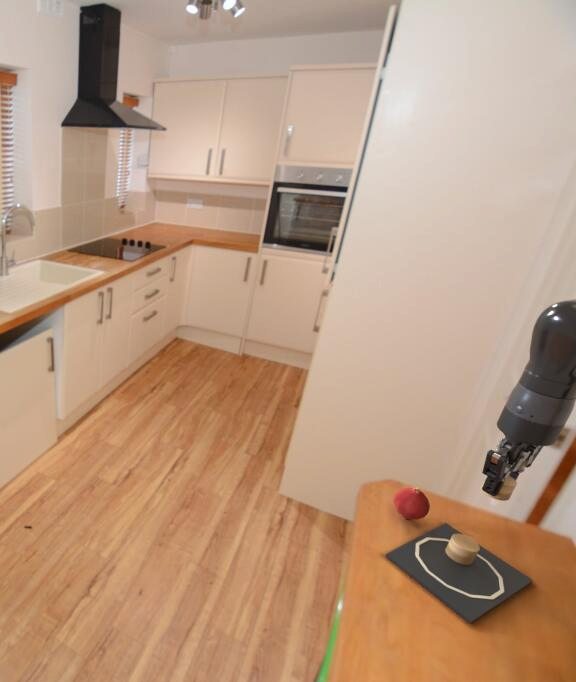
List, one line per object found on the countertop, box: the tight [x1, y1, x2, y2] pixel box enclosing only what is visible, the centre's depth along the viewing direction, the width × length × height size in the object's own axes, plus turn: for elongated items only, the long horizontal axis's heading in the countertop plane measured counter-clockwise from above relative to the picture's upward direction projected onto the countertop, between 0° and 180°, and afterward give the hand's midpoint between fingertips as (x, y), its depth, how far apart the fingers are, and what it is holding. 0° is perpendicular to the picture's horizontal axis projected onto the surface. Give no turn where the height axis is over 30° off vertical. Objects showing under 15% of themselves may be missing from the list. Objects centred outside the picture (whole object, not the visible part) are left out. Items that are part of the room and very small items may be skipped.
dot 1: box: [445, 533, 480, 565], centre depth 83 cm, size 4×4×4 cm
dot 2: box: [480, 475, 518, 502], centre depth 84 cm, size 4×4×4 cm
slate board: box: [385, 522, 534, 625], centre depth 82 cm, size 14×18×1 cm
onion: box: [392, 487, 431, 521], centre depth 92 cm, size 6×6×8 cm
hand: (496, 488), depth 84 cm, fingers closed on dot 2, 4 cm apart
